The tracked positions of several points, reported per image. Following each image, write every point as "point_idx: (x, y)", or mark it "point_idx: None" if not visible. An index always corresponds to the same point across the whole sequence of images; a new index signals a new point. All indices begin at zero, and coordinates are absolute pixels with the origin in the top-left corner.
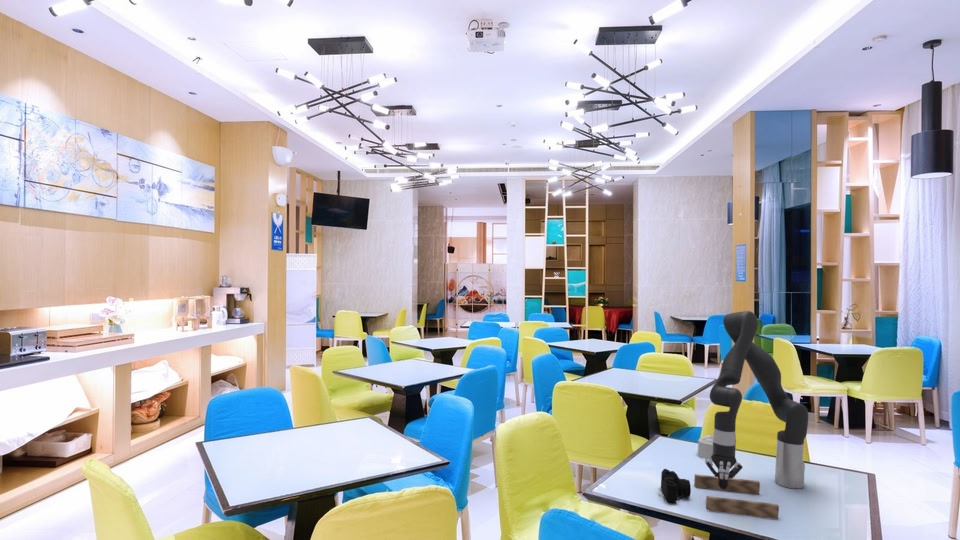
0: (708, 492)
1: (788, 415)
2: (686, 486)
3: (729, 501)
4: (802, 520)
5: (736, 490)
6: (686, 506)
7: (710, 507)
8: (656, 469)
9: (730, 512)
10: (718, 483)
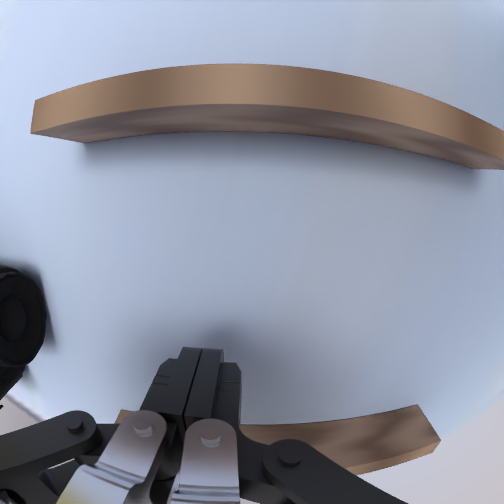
0: (149, 203)
1: None
2: (4, 365)
3: None
4: (476, 385)
5: (373, 141)
6: (57, 390)
7: None
8: (11, 20)
9: None
10: (158, 378)
